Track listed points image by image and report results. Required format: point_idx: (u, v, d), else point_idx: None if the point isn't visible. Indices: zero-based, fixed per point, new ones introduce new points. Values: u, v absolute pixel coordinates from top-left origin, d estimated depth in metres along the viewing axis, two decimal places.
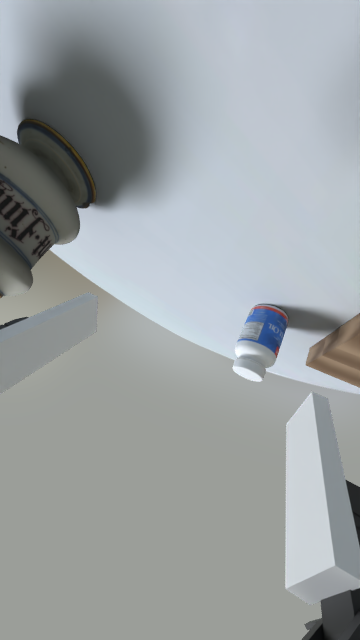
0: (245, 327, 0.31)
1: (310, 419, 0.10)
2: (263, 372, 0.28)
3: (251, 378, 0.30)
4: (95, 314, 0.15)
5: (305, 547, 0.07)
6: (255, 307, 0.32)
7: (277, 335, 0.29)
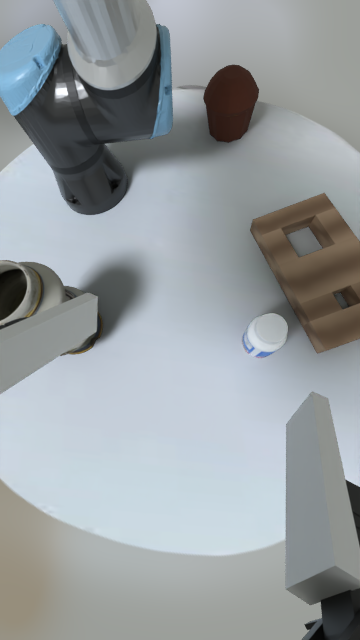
0: (244, 336, 0.35)
1: (310, 419, 0.10)
2: None
3: (280, 330, 0.29)
4: (95, 314, 0.15)
5: (305, 547, 0.07)
6: (242, 338, 0.39)
7: None
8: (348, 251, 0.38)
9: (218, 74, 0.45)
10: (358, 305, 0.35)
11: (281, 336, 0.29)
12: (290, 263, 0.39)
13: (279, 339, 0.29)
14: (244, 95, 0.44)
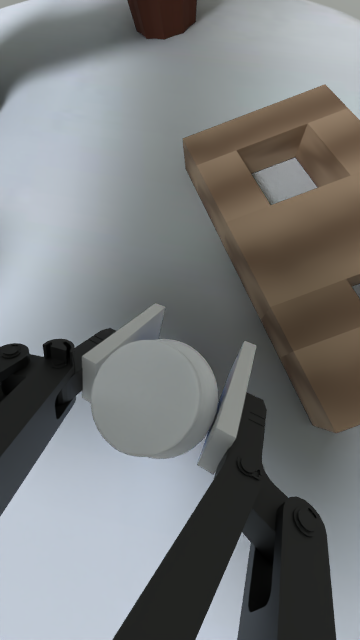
0: None
1: (237, 358, 0.12)
2: None
3: (169, 408, 0.08)
4: (160, 323, 0.15)
5: (210, 433, 0.09)
6: None
7: None
8: None
9: None
10: None
11: (171, 433, 0.07)
12: (252, 218, 0.18)
13: (162, 446, 0.07)
14: None
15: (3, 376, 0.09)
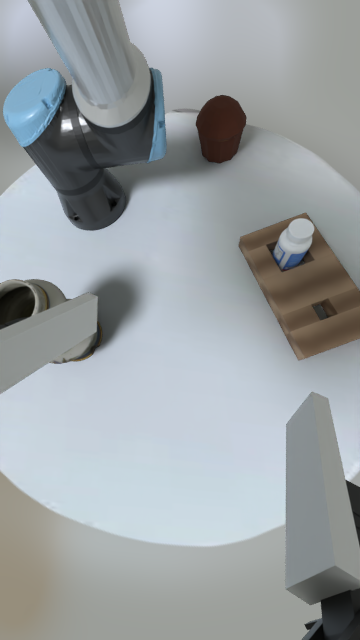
0: (275, 249, 0.43)
1: (310, 419, 0.10)
2: None
3: (308, 229, 0.37)
4: (95, 314, 0.15)
5: (305, 547, 0.07)
6: None
7: None
8: (327, 266, 0.42)
9: (208, 104, 0.49)
10: (335, 316, 0.39)
11: (309, 233, 0.37)
12: (274, 277, 0.42)
13: (307, 235, 0.37)
14: (232, 123, 0.48)
15: None
